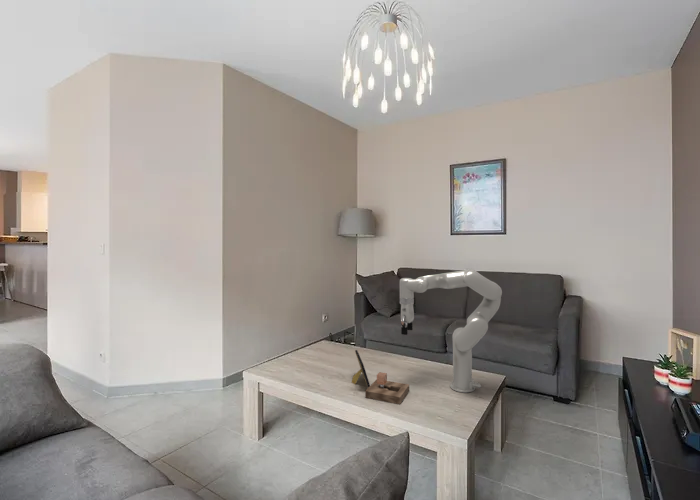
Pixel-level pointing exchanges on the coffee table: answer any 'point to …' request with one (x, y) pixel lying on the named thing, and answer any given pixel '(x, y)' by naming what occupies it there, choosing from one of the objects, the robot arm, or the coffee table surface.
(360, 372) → the picture frame
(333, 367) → the coffee table surface
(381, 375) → the peg
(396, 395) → the keyhole board
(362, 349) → the coffee table surface
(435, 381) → the coffee table surface
